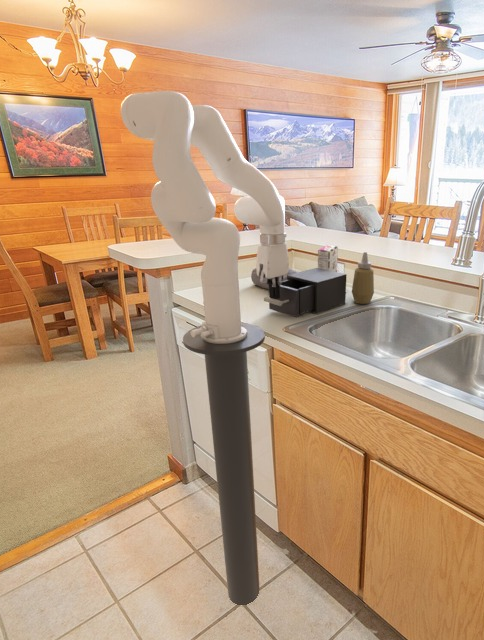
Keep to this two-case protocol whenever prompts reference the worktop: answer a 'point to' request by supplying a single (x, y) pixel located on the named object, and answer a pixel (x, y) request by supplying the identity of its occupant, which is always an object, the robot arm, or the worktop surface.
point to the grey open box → (324, 287)
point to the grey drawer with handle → (293, 298)
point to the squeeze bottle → (363, 282)
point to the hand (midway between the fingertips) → (274, 297)
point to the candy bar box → (328, 258)
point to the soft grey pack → (257, 279)
